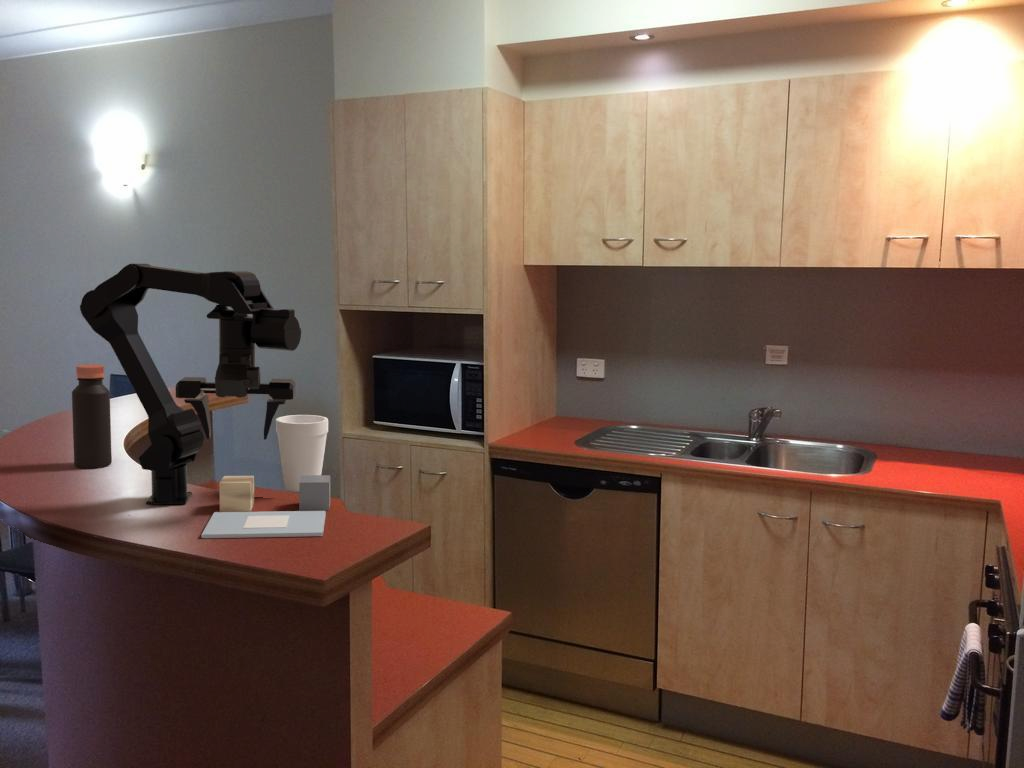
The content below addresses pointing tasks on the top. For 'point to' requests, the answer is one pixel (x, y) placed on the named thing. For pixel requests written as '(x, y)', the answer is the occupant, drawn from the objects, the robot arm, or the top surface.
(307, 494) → the charcoal block
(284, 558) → the top surface
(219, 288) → the robot arm
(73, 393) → the bottle
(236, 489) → the maple block
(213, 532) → the board
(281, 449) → the foam cup
